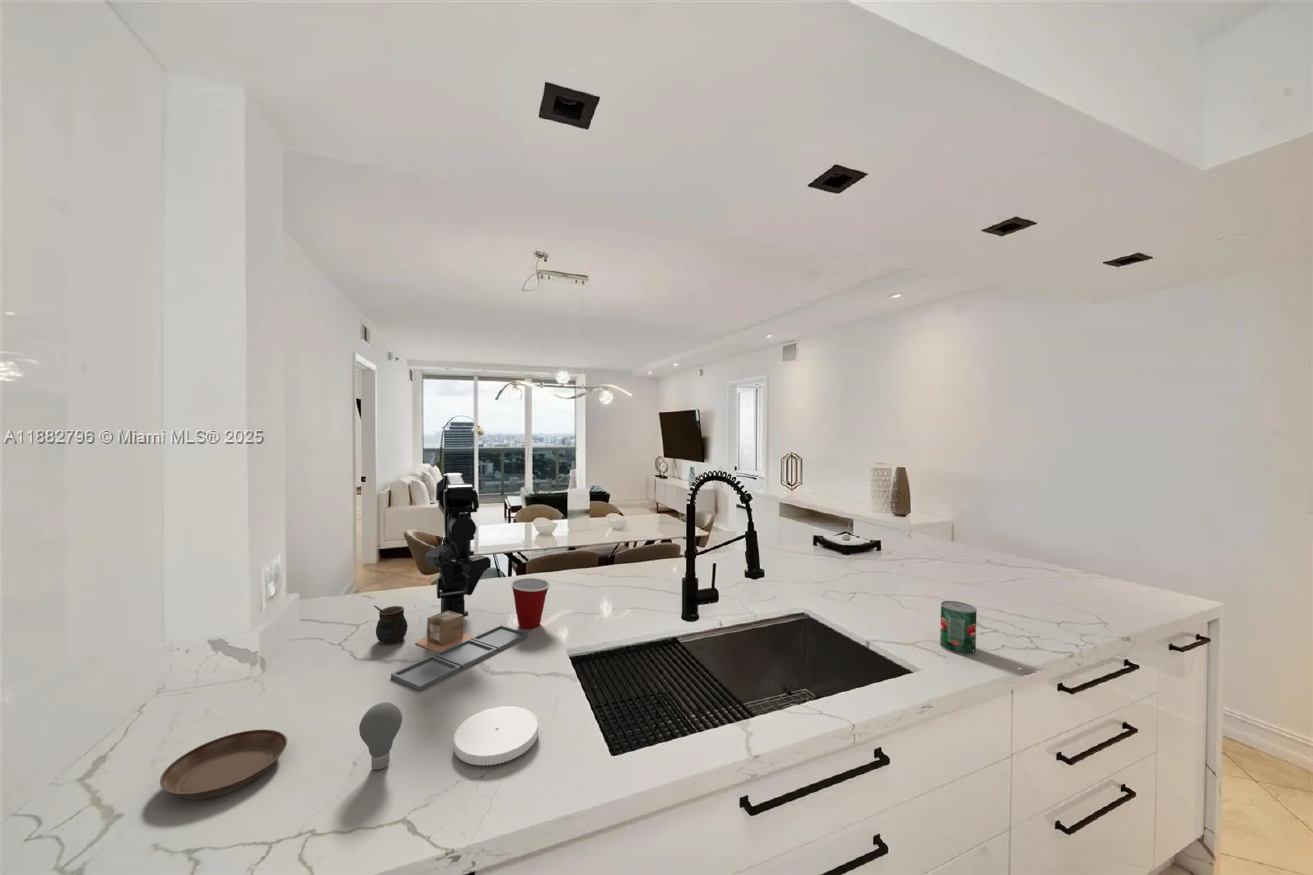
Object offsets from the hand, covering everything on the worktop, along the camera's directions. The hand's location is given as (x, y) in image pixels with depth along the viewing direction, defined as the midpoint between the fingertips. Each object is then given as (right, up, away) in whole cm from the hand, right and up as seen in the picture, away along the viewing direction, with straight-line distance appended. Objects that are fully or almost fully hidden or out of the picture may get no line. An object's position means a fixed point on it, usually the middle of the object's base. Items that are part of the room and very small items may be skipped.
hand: (458, 591), depth 126 cm
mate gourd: (-16, -12, -3) cm, 20 cm away
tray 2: (+6, -12, -11) cm, 17 cm away
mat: (-2, -12, -3) cm, 12 cm away
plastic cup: (+17, -12, +8) cm, 22 cm away
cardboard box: (-2, -11, -3) cm, 12 cm away
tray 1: (+1, -12, -20) cm, 23 cm away
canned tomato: (+130, -14, -2) cm, 131 cm away
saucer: (-15, -13, -51) cm, 54 cm away
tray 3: (+11, -12, -1) cm, 17 cm away
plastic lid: (+24, -13, -42) cm, 50 cm away
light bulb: (+8, -13, -49) cm, 51 cm away
